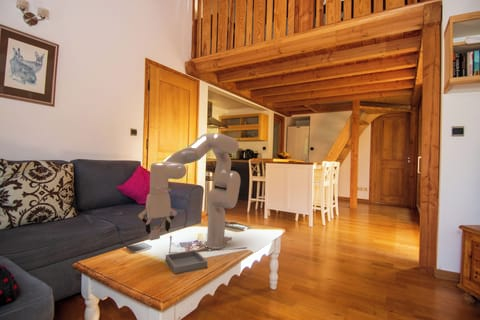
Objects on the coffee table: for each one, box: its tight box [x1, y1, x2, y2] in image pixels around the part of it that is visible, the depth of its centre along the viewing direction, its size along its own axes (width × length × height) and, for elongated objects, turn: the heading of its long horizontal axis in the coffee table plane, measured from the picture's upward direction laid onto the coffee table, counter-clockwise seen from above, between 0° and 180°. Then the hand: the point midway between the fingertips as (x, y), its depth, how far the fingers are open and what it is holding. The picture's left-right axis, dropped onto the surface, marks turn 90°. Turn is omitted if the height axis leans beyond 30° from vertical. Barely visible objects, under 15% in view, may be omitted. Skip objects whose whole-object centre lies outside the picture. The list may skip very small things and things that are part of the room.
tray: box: [165, 249, 208, 275], centre depth 114 cm, size 15×15×3 cm
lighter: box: [148, 218, 166, 241], centre depth 109 cm, size 7×2×8 cm, turn 136°
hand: (157, 231), depth 109 cm, fingers closed on lighter, 7 cm apart
